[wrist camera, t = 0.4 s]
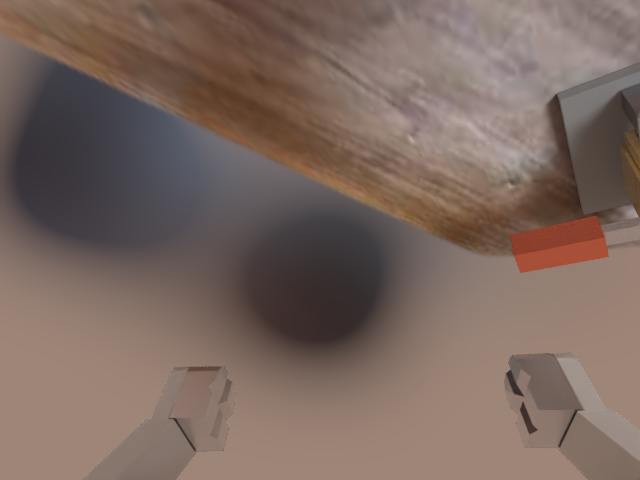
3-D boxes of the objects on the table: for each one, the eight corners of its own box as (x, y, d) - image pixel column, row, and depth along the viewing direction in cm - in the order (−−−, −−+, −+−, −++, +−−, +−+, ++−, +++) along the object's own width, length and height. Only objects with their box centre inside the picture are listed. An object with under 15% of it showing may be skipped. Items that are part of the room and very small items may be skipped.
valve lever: (708, 189, 35) (724, 212, 33) (706, 212, 37) (722, 235, 35) (510, 235, 43) (513, 255, 41) (516, 252, 45) (520, 272, 43)
